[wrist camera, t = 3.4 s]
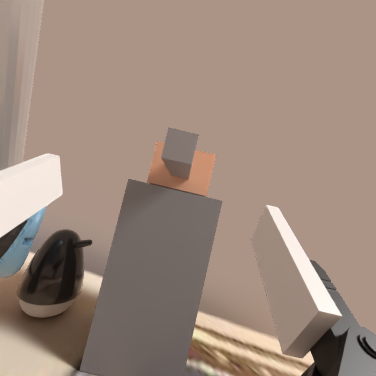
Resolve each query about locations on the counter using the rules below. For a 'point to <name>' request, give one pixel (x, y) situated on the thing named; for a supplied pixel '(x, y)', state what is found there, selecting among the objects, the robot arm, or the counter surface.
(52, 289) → the pump dispenser
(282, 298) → the robot arm
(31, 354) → the counter surface
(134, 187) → the grey tall block
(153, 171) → the orange and grey block
